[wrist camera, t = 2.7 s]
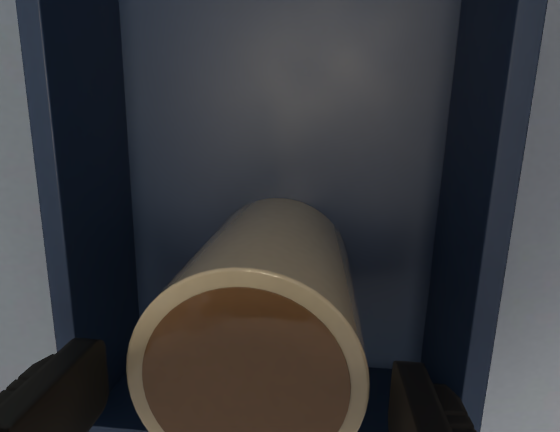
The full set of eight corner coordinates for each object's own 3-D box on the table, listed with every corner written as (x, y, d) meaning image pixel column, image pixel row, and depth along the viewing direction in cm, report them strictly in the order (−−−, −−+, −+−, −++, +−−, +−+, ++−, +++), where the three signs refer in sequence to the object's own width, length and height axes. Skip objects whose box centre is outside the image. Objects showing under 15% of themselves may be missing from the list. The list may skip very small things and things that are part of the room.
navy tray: (88, -232, 16) (-35, -413, 11) (510, -255, 15) (623, -478, 9) (130, 358, 22) (66, 440, 17) (432, 381, 21) (473, 479, 15)
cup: (271, 167, 19) (226, 214, 10) (379, 263, 19) (425, 386, 11) (182, 269, 20) (78, 385, 12) (284, 354, 21) (257, 527, 12)
